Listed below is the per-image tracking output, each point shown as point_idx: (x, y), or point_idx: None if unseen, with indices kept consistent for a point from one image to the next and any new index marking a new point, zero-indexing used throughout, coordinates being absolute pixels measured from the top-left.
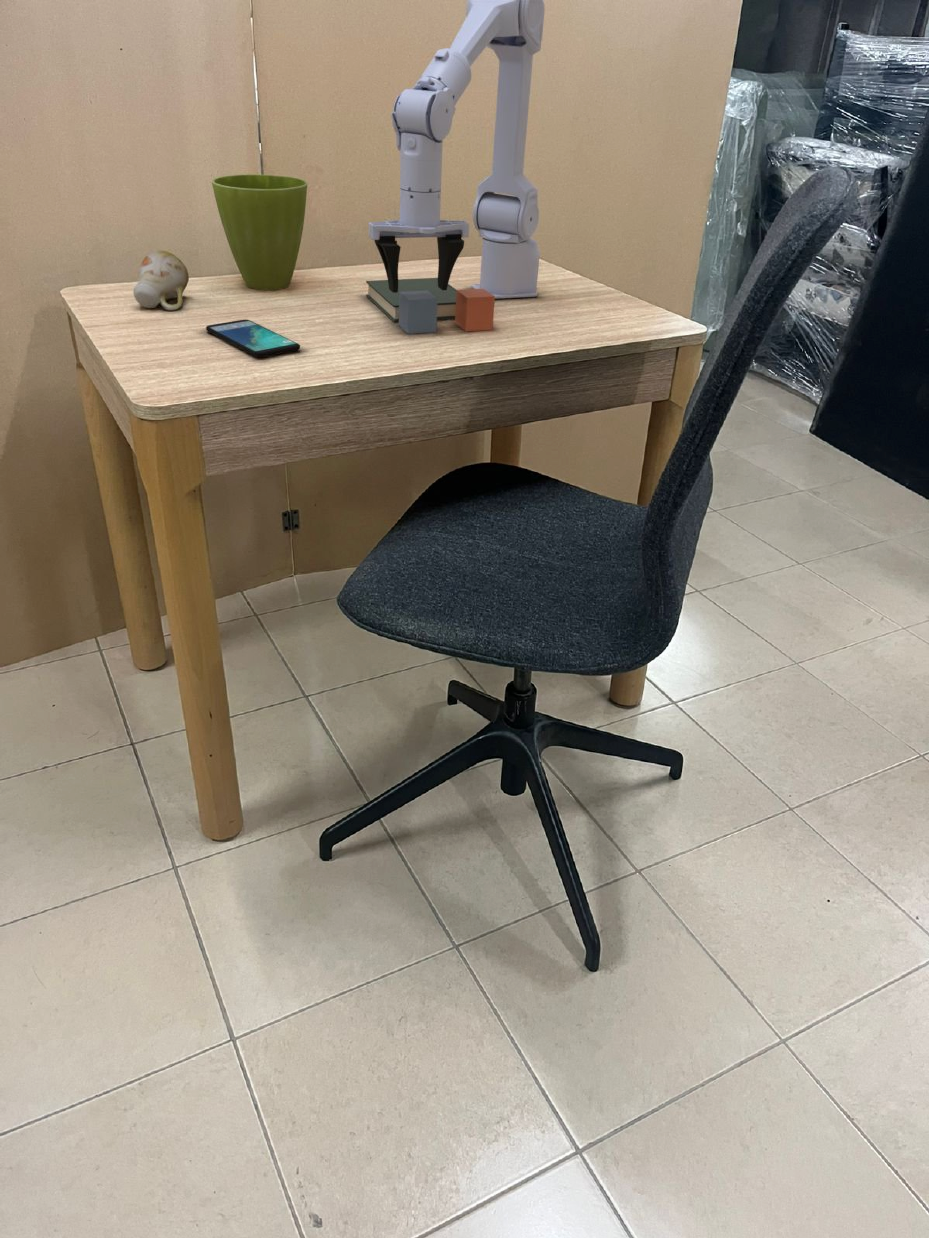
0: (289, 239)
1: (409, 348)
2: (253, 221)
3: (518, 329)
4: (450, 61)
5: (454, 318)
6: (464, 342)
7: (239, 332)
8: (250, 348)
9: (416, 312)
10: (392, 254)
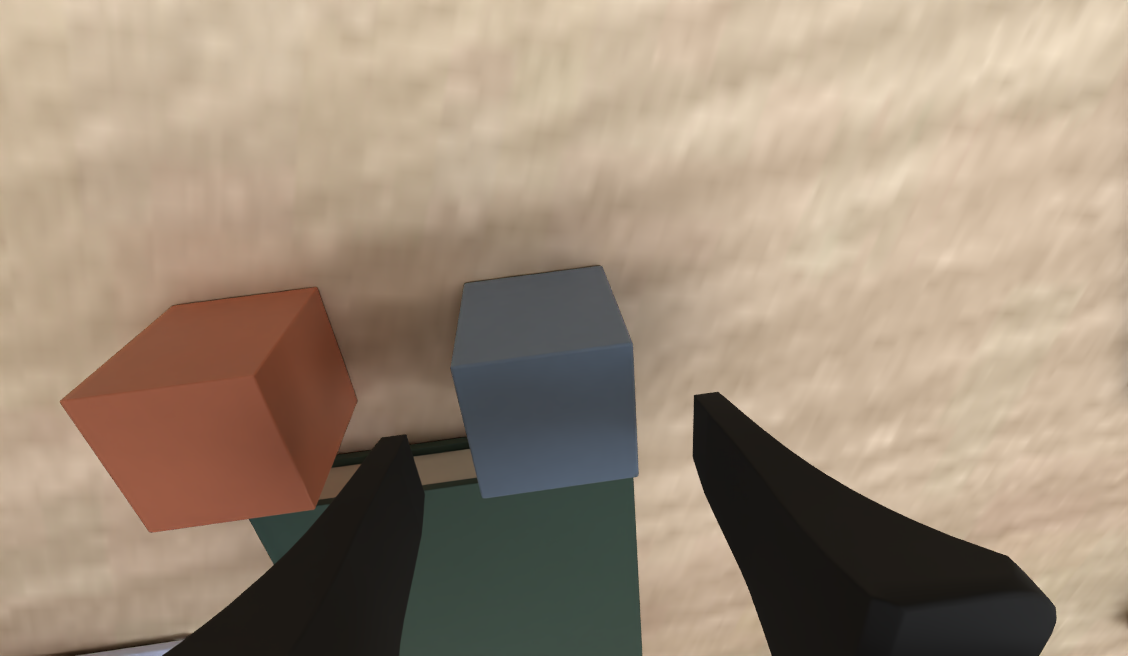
0: None
1: (655, 41)
2: None
3: (29, 309)
4: None
5: (353, 453)
6: (336, 117)
7: None
8: None
9: (573, 315)
10: (894, 543)
